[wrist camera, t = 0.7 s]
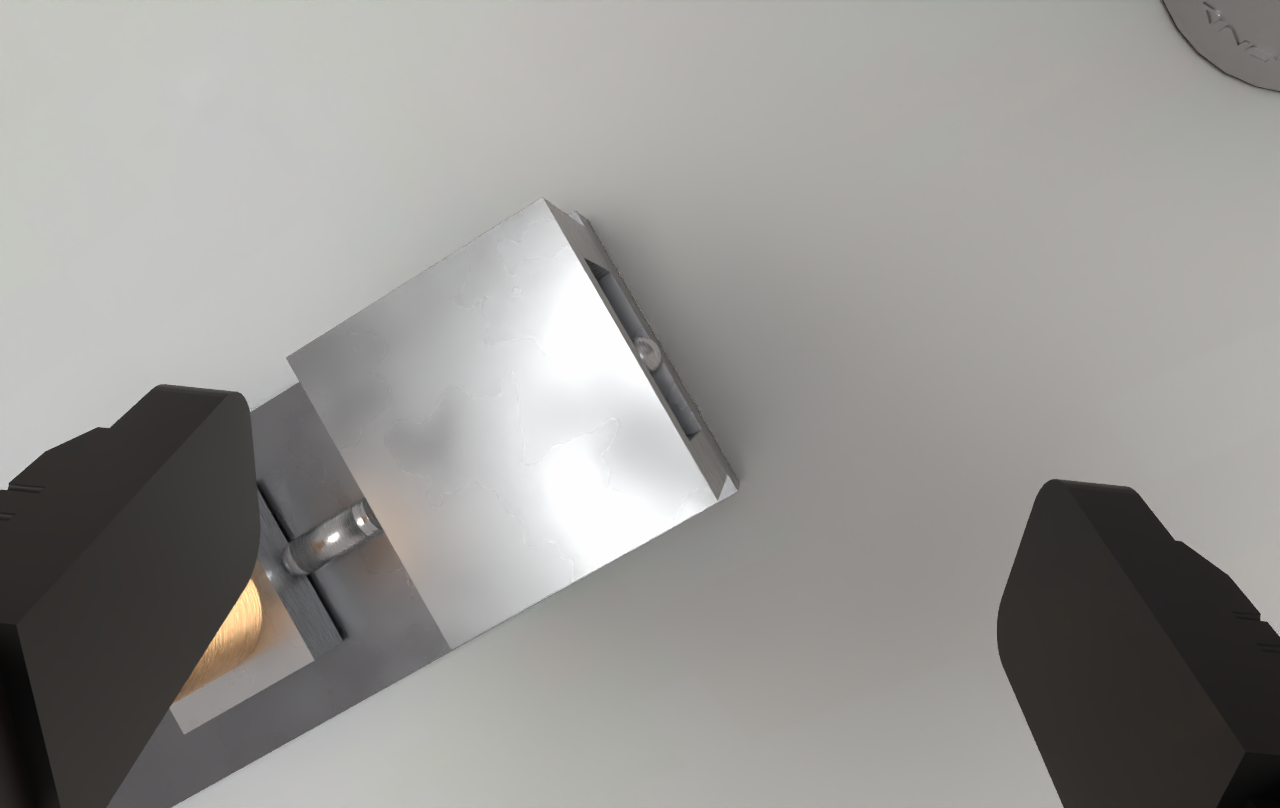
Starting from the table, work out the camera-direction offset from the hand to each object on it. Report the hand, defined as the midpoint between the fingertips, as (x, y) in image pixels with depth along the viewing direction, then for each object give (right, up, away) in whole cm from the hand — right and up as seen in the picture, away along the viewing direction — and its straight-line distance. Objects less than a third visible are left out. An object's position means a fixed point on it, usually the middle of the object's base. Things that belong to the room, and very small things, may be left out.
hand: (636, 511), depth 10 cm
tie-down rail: (-13, -5, +24) cm, 28 cm away
